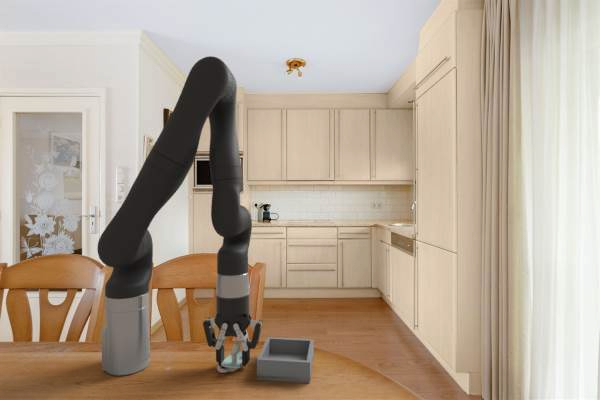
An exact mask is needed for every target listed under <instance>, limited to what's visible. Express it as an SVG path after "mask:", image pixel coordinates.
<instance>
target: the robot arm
mask: <svg viewBox="0 0 600 400" xmlns="http://www.w3.org/2000/svg"><path fill="white" fill-rule="evenodd" d="M237 86H238V85H237V80H236V78H235V75H234V74H233V73H232V71H231V70H230V68H229V67H228V65H227V64H226V63H225V62H224V61H223V60H222V59H221V58H218V57H216V56H211V55H210V56H205V57H202V58H201V59H199V60H197V61H196V62H195V63H194V65H193V66H192V67H191V69H190V71H189V73H188V75H187V78H186V79H185V82H184V85H183V87H182V89H181V91H180V92H181V93H180V94H179V97H178V100H177V102H176V104H175V106H174V109H173V111H172V112H171V113H170V116H169V117H168V119H167V121H166V123H165V124H164V126H163V128H162V130H161V131H160V134H159V136H158V137H157V139H156V141H155V142H154V144H153V146H152V148H151V149H150V151H149V153H148V155H147V157H146V159H145V161H144V162H143V164H142V167H141V169H140V170H139V172H138V174H137V176H136V178H135V180H134V181H133V184H132V186H131V187H130V189H129V191H128V193H127V195H126V197H125V199H124V201H123V202H122V204H121V206H120V207H119V209H118V210H117V211H116V213H115V215H114V216H113V217H112V219H111V220H110V222H109V223H108V225H107V226H106V227H105V228H104V230H103V232H102V234H101V235H100V237H99V238H98V243H97V249H96V250H97V254H98V257H99V260H100V261H101V262H102V264H104V265H105V266H107V267H110V268H112V272H111V275H110V276H109V278H108V280H107V281H106V283H105V285H104V301H105V302H104V305H105V306H104V308H105V326H104V327H103V328H102V329H101V335H100V336H101V371H103V372H106V373H107V374H109V375H111V376H128V375H132V374H135V373H139V372H141V371H142V370H145V369H146V368H147V367H148V366H149V365H150V363H151V361H150V360H151V356H150V355H151V351H150V349H151V348H150V345H151V344H150V343H151V342H150V341H151V338H150V337H151V336H150V335H151V334H150V283H151V279H152V275H153V256H154V255H153V253H154V247H153V246H154V245H153V243H154V242H153V238H152V234H151V233H150V231H149V227H150V225H151V223H152V222H153V220H154V218H155V217H156V215H157V214H158V213H159V211H161V210H162V208H163V207H164V206H165V205H166V204H167V203H168V202H169V200H170V199H172V197H174V195H175V194H176V193H177V191H178V190H179V189H180V187H181V186H182V185H183V182H184V181H185V180H186V178H187V176H188V174H189V172H190V171H191V168H192V166H193V164H194V162H195V160H196V157H197V152H198V149H199V144H200V140H201V135H202V131H203V128H204V125H205V123H206V121H207V119H208V120H209V130H210V135H209V136H210V137H209V149H208V150H209V152H208V155H209V156H208V157H209V158H208V160H209V162H208V163H209V170H210V171H209V173H210V179H211V180H210V181H211V186H212V193H211V205H210V219H211V224H212V228H213V229H214V231H215V233H216V234H217V235H219V236H220V237H223V239H222V244H221V246H220V248H219V249H218V251H217V256H216V258H217V259H216V266H217V267H216V281H215V291H216V292H215V295H216V296H215V301H216V302H215V304H216V305H215V306H216V307H215V311H216V313H215V314H216V315H215V316H214V317H212V318H211V317H207V318H206V319H204V321H203V322H202V326H203V330H204V334H205V338H206V344H207V345H208V347H213V348H215V361H216V363H218V364H217V366H218V365H221V363H222V362H223V361H224V360H225V345H224V343H225V341H226V339H227V337H234V338H237V339H238V342H239V344H240V346H241V348H242V350H241V351H242V358H241V360H242V365H241V366H242V367H244V368H245V367H246V366H247V365H248V364H249V362H250V360H251V350H254V349H256V347H257V345H258V344H259V340H260V336H261V332H262V329H263V328H262V327H263V320H261V319H259V320H255V319H252V317H251V315H250V288H251V287H250V277H249V247H250V244H251V243H250V242H251V237H252V231H253V230H252V228H253V223H252V221H253V219H252V216H251V215H252V214H251V213H250V211H249V210H248V208H247V207H246V206H243V205H241V200H240V199H241V198H240V197H241V196H240V194H241V192H243V190H244V180H243V177H244V176H243V171H242V170H243V169H242V164H241V156H240V149H239V143H238V133H237V118H236V117H237V114H236V113H237V90H238V88H237ZM215 325H216V326H217V328H218V329H219V331H220V332H219V334H218V337H216V333H215ZM249 326H251V330H252V331H253V334H252V339H251V340H250V339H249V333H248V331H247V329H248V328H249Z"/></svg>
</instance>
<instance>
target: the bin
mask: <svg viewBox="0 0 600 400" xmlns="http://www.w3.org/2000/svg"><path fill="white" fill-rule="evenodd" d="M314 340H315V339H310V338H308V339H307V338H294V337H293V338H292V337H271V336H270V337H266V339H265V341H264V344H263V346H262V348H261V350H260V352H259V353H258V356H257V359H256V380H257V381H268V382H269V381H270V382H272V381H273V382H275V381H276V382H286V383H288V382H289V383H303V384H304V383H305V384H310V383H311V380H312V379H311V378H312V371H313V364H314V358H315V357H314V356H315V355H314V354H315V349H314V348H315V347H314V346H315V341H314Z"/></svg>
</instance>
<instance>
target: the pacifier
mask: <svg viewBox="0 0 600 400" xmlns="http://www.w3.org/2000/svg"><path fill="white" fill-rule="evenodd" d="M240 348H241V343H240V342H239V341H235V342H234V343H233V346H232V348H231V351H230V354H229V355H228V356H226V358H224V361H223V362H222V363H221V365H218V364H217V366H216V371H217V372H219V373H223V374H224V373H228V372H230V373H231V372H232V373H233V372H235V371H237V370H238V369H240V368H241V366H242V350H241V349H240ZM222 367H224V368H222Z"/></svg>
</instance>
